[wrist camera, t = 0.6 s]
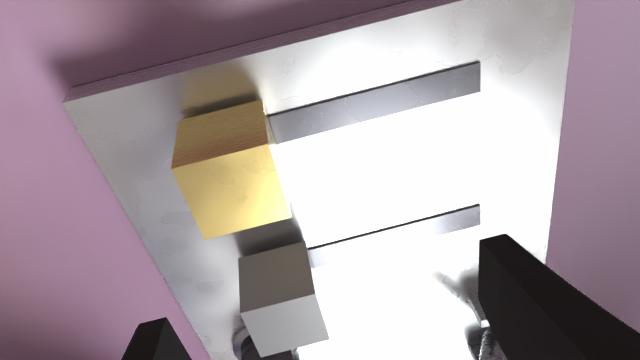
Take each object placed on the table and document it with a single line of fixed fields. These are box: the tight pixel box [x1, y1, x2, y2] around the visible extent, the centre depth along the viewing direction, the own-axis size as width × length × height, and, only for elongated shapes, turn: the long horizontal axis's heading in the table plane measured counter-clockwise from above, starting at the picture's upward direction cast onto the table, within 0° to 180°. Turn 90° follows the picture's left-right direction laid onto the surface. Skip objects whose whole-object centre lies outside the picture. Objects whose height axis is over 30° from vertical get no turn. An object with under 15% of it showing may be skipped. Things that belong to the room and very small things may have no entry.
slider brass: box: [171, 99, 291, 240], centre depth 17 cm, size 3×3×3 cm
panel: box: [62, 0, 576, 360], centre depth 23 cm, size 18×22×3 cm
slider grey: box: [238, 241, 330, 357], centre depth 21 cm, size 3×3×3 cm
